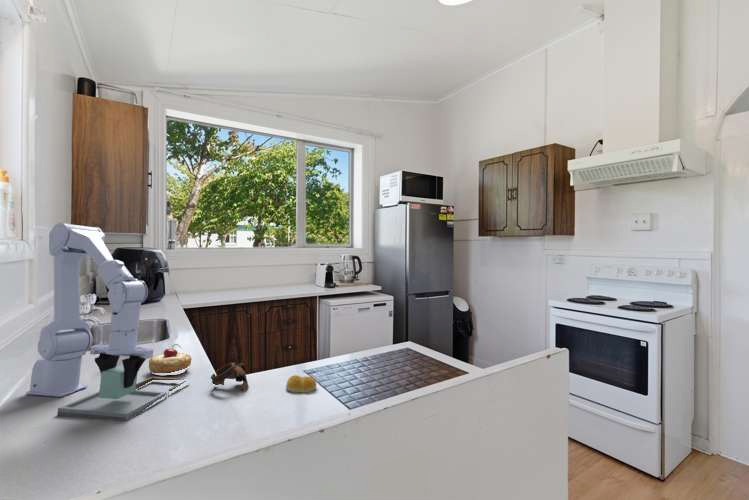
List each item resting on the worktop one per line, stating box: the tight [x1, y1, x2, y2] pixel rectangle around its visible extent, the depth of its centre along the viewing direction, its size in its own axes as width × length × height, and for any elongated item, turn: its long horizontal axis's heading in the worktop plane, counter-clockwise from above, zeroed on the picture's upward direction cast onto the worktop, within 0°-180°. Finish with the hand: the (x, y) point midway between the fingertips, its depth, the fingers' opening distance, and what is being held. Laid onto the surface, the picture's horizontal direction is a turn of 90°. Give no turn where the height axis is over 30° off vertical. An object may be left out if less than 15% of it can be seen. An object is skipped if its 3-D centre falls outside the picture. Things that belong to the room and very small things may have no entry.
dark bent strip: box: [136, 376, 186, 392], centre depth 99 cm, size 11×9×2 cm
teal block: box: [98, 365, 138, 399], centre depth 85 cm, size 4×6×6 cm
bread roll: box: [285, 374, 317, 394], centre depth 106 cm, size 8×9×4 cm
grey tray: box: [57, 389, 168, 422], centre depth 85 cm, size 16×14×2 cm
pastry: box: [148, 343, 192, 373], centre depth 113 cm, size 12×12×9 cm
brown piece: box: [210, 362, 249, 392], centre depth 103 cm, size 12×10×8 cm
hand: (118, 385), depth 85 cm, fingers closed on teal block, 4 cm apart
